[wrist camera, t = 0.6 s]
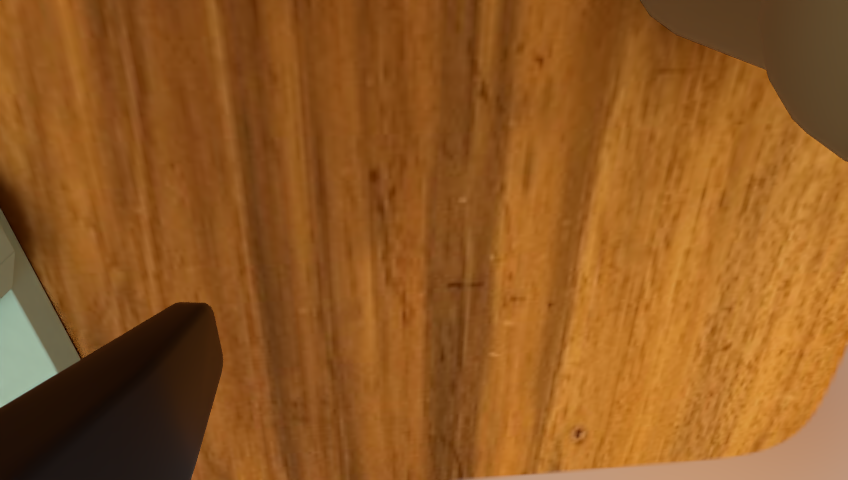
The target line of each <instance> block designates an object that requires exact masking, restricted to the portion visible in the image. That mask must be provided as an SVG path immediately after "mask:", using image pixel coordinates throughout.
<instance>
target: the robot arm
mask: <svg viewBox="0 0 848 480" xmlns="http://www.w3.org/2000/svg"><path fill="white" fill-rule="evenodd" d="M222 367H223V354H222V349H221V344H220V340H219V335H218V330H217V326H216V321H215V317H214V313H213V310H212V308H211V307H210V306H209V305H208V304H206V303H190V302H179V303H175V304H173V305H171V306H170V307H168V308H166V309H165V310H163V311H161V312H160V313H158V314H156V315H155V316H153V317H151V318H150V319H148V320H146V321H145V322H143V323H141V324H140V325H138V326H136V327H135V328H133V329H131V330H129V331H128V332H126V333H124V334H123V335H121V336H119V337H118V338H116V339H114V340H113V341H111V342H109V343H108V344H106V345H104V346H103V347H101V348H99V349H98V350H96V351H94V352H93V353H91V354H89V355H88V356H86V357H84V358H83V359H81V360H79V361H78V362H76V363H74V364H73V365H71V366H69V367H68V368H66V369H64V370H63V371H61V372H59V373H58V374H56V375H54V376H53V377H51V378H49V379H48V380H46V381H44V382H42V383H41V384H39V385H37V386H36V387H34V388H32V389H31V390H29V391H27V392H26V393H24V394H22V395H21V396H19V397H17V398H16V399H14V400H12V401H11V402H9V403H7V404H6V405H4V406H2V407H1V408H0V480H191V477H192V474H193V471H194V468H195V464H196V461H197V458H198V454H199V451H200V447H201V444H202V440H203V437H204V433H205V429H206V426H207V422H208V419H209V415H210V412H211V408H212V405H213V401H214V398H215V394H216V391H217V387H218V383H219V380H220V376H221V372H222Z"/></svg>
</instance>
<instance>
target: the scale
mask: <svg viewBox="0 0 848 480" xmlns="http://www.w3.org/2000/svg"><path fill="white" fill-rule="evenodd" d="M79 360H81V359H80V357H79V355H78V353H77V351H76V349H75V348H74V346H73V344H72V342H71V340H70V338H69V336H68V334H67V332H66V331H65V329H64V327H63V325H62V323H61V321H60V319H59V317H58V315H57V314H56V312H55V310H54V308H53V306H52V304H51V302H50V300H49V299H48V297H47V295H46V293H45V291H44V289H43V287H42V285H41V283H40V282H39V280H38V278H37V276H36V274H35V272H34V270H33V268H32V266H31V265H30V263H29V261H28V259H27V257H26V255H25V253H24V251H23V250H22V248H21V246H20V244H19V242H18V240H17V238H16V236H15V234H14V233H13V231H12V229H11V227H10V225H9V223H8V221H7V219H6V217H5V216H4V214H3V212H2V210H1V208H0V408H1V407H2V406H4V405H6V404H7V403H9V402H11V401H12V400H14V399H16V398H17V397H19V396H21V395H22V394H24V393H26V392H27V391H29V390H31V389H32V388H34V387H36V386H37V385H39V384H41V383H42V382H44V381H46V380H48V379H49V378H51V377H53V376H54V375H56V374H58V373H59V372H61V371H63V370H64V369H66V368H68V367H69V366H71V365H73V364H74V363H76V362H78V361H79Z"/></svg>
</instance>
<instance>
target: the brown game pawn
mask: <svg viewBox="0 0 848 480" xmlns="http://www.w3.org/2000/svg"><path fill="white" fill-rule="evenodd" d="M640 1H641V2H642V4H643V5H644V7H645V8H646V10H647V12H648V13H649V15H650V16H651V17H653V18H654V19H656V20H657V21H658V22H660V23H661V24H662V25H664V26H665V27H666V28H668V29H669V30H671V31H672V32H673V33H675V34H676V35H678V36H681V37H683V38H686V39H689V40H691V41H694V42H696V43H699V44H701V45H704V46H706V47H709V48H712V49H714V50H717V51H719V52H722V53H724V54H727V55H729V56H732V57H735V58H737V59H740V60H742V61H745V62H747V63H750V64H752V65H755V66H758V67H760V68H763V69H765V70H767V74H768V78H769V81H770V82H771V84H772V86H773V87H774V89H775V91H776V92H777V94H778V96H779V97H780V99H781V101H782V102H783V104H784V106H785V107H786V109H787V111H788V112H789V114H790V116H791V118H792V119H793V120H794V121H795V122H796V123H797V124H798V125H799V126H800V127H801V128H802V129H803V130H804V131H805V132H807V133H808V134H809V135H810V136H812V137H813V138H815V139H816V140H817V141H819V142H820V143H821V144H823V145H824V146H825V147H827V148H828V149H830V150H831V151H832V152H834V153H835V154H836V155H838V156H839V157H840V158H842V159H843V160H845V161H847V162H848V0H640Z"/></svg>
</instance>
